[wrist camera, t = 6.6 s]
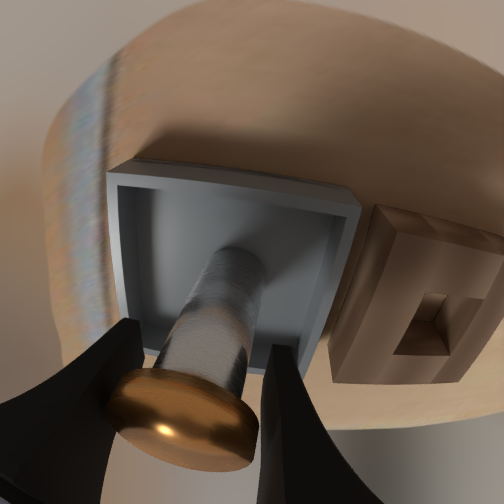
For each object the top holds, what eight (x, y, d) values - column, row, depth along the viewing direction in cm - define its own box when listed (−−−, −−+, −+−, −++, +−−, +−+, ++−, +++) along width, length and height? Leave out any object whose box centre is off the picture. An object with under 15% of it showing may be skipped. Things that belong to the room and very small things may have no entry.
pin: (288, 242, 14) (266, 425, 6) (272, 317, 16) (244, 481, 8) (193, 225, 14) (88, 375, 6) (190, 300, 16) (121, 446, 9)
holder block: (503, 237, 14) (531, 263, 11) (444, 350, 18) (458, 382, 15) (376, 204, 14) (397, 231, 11) (327, 344, 18) (332, 382, 15)
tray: (348, 187, 13) (362, 207, 11) (301, 347, 18) (303, 379, 16) (131, 158, 13) (106, 172, 11) (140, 321, 18) (126, 349, 16)
